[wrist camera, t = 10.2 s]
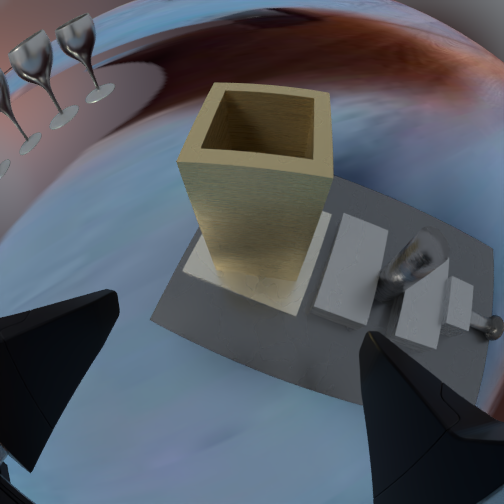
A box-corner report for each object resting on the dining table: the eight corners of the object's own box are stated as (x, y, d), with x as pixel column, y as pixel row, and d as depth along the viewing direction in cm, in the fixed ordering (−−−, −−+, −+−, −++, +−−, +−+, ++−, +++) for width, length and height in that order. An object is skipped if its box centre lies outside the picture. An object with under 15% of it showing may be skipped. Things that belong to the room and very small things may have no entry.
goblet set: (109, 79, 29) (83, 4, 17) (122, 90, 27) (92, 3, 15) (-34, 200, 22) (-83, 147, 10) (-36, 225, 20) (-94, 170, 8)
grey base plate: (466, 425, 12) (535, 428, 6) (155, 323, 16) (97, 288, 10) (491, 256, 17) (542, 216, 11) (247, 156, 21) (243, 82, 15)
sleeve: (296, 281, 16) (333, 178, 7) (216, 269, 16) (176, 161, 8) (302, 212, 18) (329, 93, 9) (231, 203, 18) (214, 82, 10)
